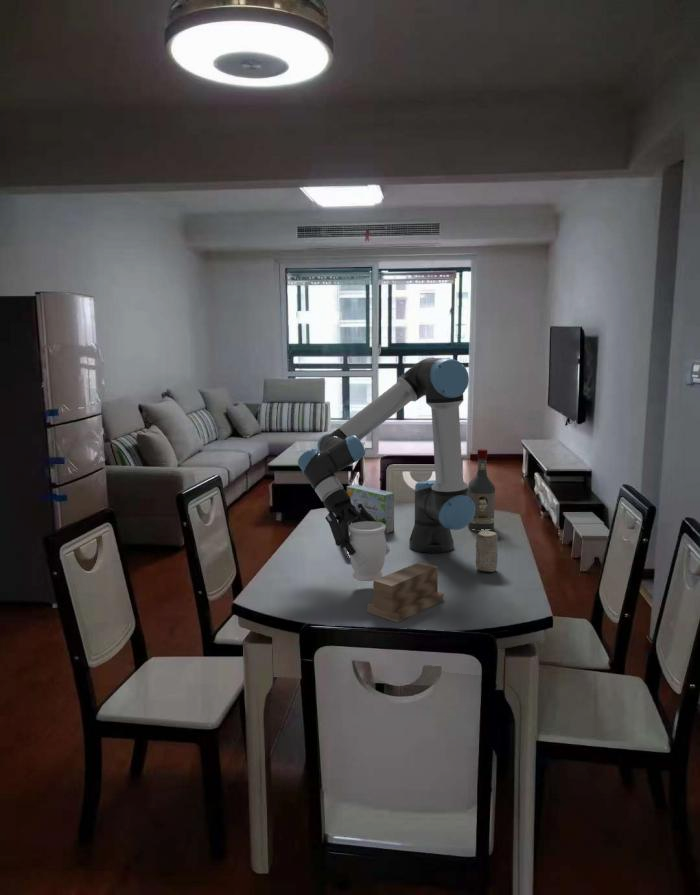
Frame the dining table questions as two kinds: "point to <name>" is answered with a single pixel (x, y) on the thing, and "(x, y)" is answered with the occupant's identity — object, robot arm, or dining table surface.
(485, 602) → the dining table surface
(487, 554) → the carving
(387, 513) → the snack box
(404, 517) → the dining table surface
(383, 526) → the jar
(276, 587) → the dining table surface
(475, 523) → the liquor
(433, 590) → the wooden block
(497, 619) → the dining table surface
